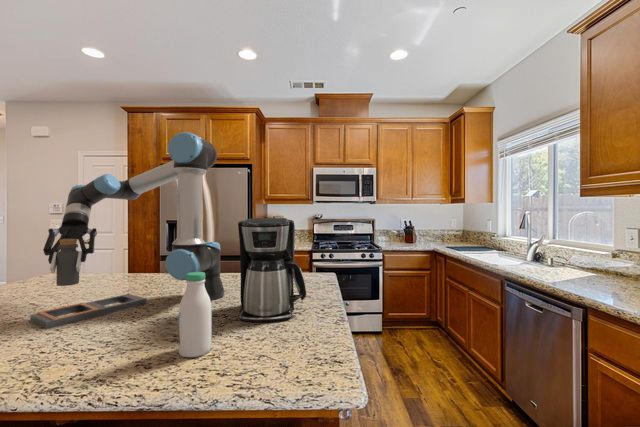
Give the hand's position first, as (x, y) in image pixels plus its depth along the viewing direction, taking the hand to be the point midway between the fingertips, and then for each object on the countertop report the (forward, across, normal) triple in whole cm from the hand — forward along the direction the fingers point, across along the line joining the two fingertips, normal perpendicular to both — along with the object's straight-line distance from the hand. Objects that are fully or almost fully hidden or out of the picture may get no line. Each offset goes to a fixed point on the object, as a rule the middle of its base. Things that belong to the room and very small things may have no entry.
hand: (65, 269), depth 98 cm
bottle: (+1, 0, -6) cm, 7 cm away
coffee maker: (+26, -65, +2) cm, 70 cm away
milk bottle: (+42, -34, +19) cm, 57 cm away
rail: (+7, -7, -16) cm, 19 cm away
